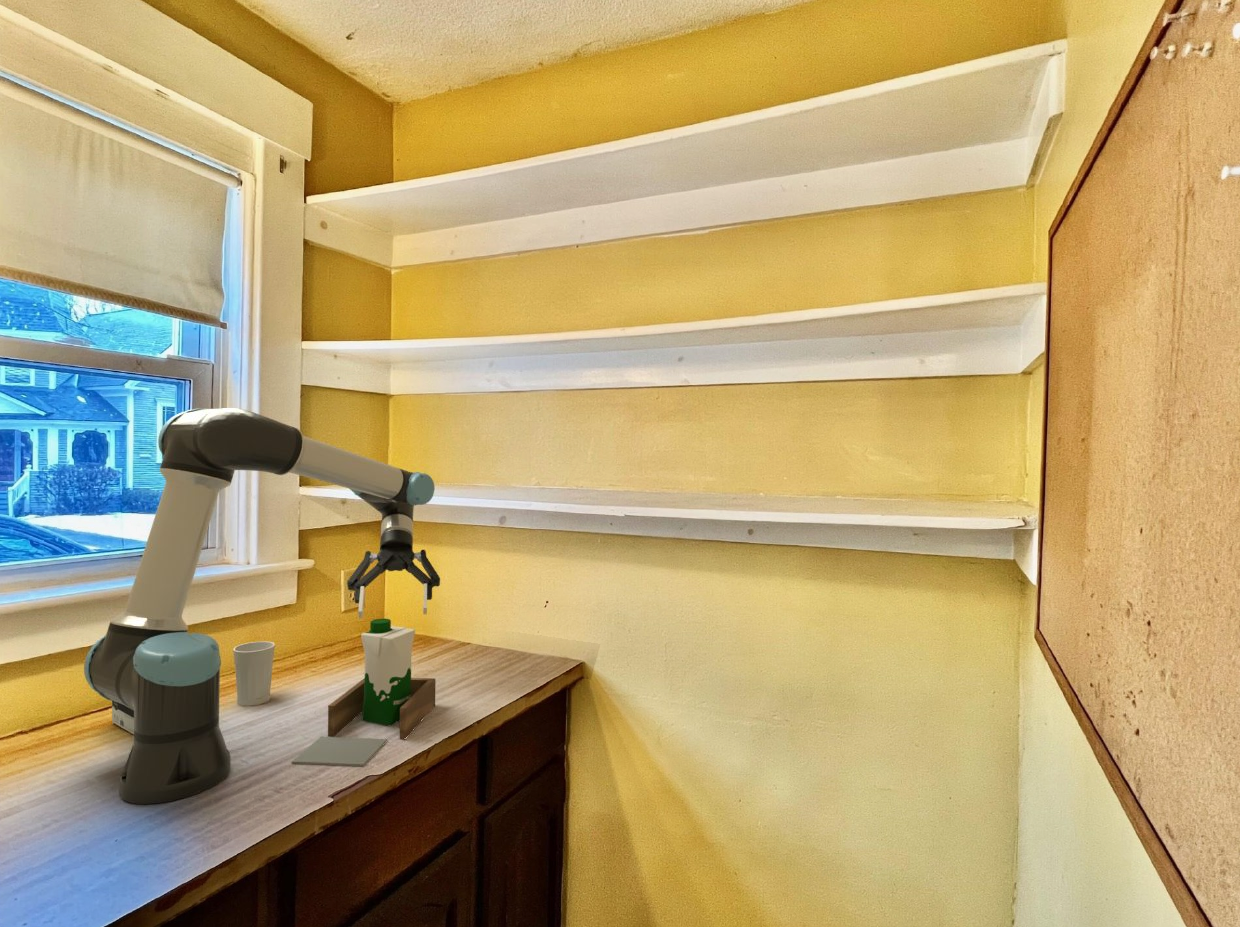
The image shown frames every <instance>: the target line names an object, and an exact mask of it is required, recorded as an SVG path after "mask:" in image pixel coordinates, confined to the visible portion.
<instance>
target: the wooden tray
mask: <svg viewBox="0 0 1240 927" xmlns="http://www.w3.org/2000/svg"><path fill="white" fill-rule="evenodd" d="M364 679H365V677H364V678H363V679H362V680H360V681H359V682H357V683H356V684H355V685H353V686H352V687H351V688H349V689H348V690H347V691H346V692H344V693H343V694H341V696H339V697H338V698H336V699H335V700H334V701H332V702H331V703H330V704H328V705H327V708H328V709H327V737H336V735H338V734H339V733H340V732H341V731H342V730H343V729H344V728H345V727H347V726H348V725H349V724H350V723H351V722H352V721H354V720H355V719H356V718H357V717H358V716H360V714H362V713H363V705H364ZM434 706H436V678H427V677H411V698H410V699H409V700H408V701H407V702H406V703H405V704H404V705H403V706H402V707H401V708H400V721H399V740H405V739H404V738H406V737H407V736H408V735H409V734H410V733H411V732H412V731H413V732H414V730H415V729H416V728H417V727H418V726H419V725H420V724H421V723H422V721H423V720H424V719H425V718H426V717H427V716H428V715H429V713H431V711H432V710H433V709H434V708H435V707H434ZM433 707H434V708H433ZM431 709H432V710H431ZM430 710H431V711H430ZM361 712H362V713H361ZM427 714H428V715H427ZM426 715H427V716H426ZM425 716H426V717H425ZM424 717H425V718H424ZM354 718H355V719H354ZM423 718H424V719H423ZM353 719H354V720H353ZM422 719H423V720H422ZM421 720H422V721H421ZM419 723H420V724H419ZM418 724H419V725H418ZM417 725H418V726H417ZM416 726H417V727H416ZM415 727H416V728H415ZM414 728H415V729H414ZM413 729H414V730H413ZM413 732H412V733H413ZM337 733H338V734H337ZM412 733H411V734H412ZM411 734H410V735H411ZM410 735H409V736H410ZM409 736H408V737H409ZM408 737H407V738H408ZM407 738H406V739H407Z"/></svg>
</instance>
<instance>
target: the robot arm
mask: <svg viewBox="0 0 1240 927" xmlns="http://www.w3.org/2000/svg"><path fill="white" fill-rule="evenodd" d="M157 441H158V442H157V443H158V448H159V451H160V453H161V455H162V457H163V458H162V461H161V463H160V467H159V472H160V473H161V475H162V476H163V478H164V479H165V485H164V487H163V491H162V493H161V497H160V500H159V504H158V507H157V509H156V511H155V515H154V519H153V522H152V525H151V529H150V530H149V534H148V537H147V541H146V544H145V547H144V549H143V554H142V557H141V559H140V562H139V565H138V568H137V571H136V574H135V578H134V581H133V585H132V587H131V591H130V592H129V593H130V594H129V598H128V600H127V602H126V605H125V610H124V611H123V612H122V613H120V614H119V615H117V616H115V617H114V618H112V619H111V620H110V622H109V624H108V628H107V631H106V634H104V636H103V637H101V638H100V639H99V640H97V641H96V642H95V643H94V644H93V645H92V646H91V648H90V649H89V651H88V653H87V655H86V656H85V660H84V666H83V674H84V678H85V680H86V682H87V684H88V685H89V687H90V688H91V689H92V690H93V691H94V692H96V693H97V694H98V695H99V696H101V697H102V698H103V699H105V700H109V701H111V702H112V701H114V702H118V703H121V704H123V705H126V706H128V707H131V708H133V709H134V734H133V744H132V746H131V749H130V752H129V753H128V757H127V760H126V761H125V765H124V768H123V770H122V773H121V775H120V777H119V797H120V798H121V800H123V801H125V802H128V803H131V804H136V805H137V804H139V805H151V804H159V803H167V802H172V801H177V800H180V799H184V798H188V797H190V796H194V795H196V794H199V793H201V792H204V791H206V790H208V789H210V788H212V787H214V786H216V785H218V784H219V783H220V782H221V781H223V780H224V779H225V778H227V776H228V775H229V773H230V772H231V760H232V759H231V753H230V752H229V750H228V747H227V745H226V742H225V738H224V736H223V733H222V730H221V728H220V688H221V687H220V686H221V685H220V684H221V683H220V680H221V679H220V678H221V676H220V675H221V664H222V659H221V658H222V657H221V654H220V647H219V646H220V645H219V643H218V641H217V640H216V639H215V638H213V637H212V636H210V635H207V634H203V633H202V632H201V633H199V632H192V633H191V632H190V633H189V632H188V629H189V626H188V625H187V623H186V621H184V619H183V613H184V610H185V606H186V603H187V600H188V597H189V593H190V590H191V586H192V584H193V583H192V582H193V579H194V576H195V574H196V570H197V566H198V563H199V560H200V556H201V553H202V550H203V548H204V542H205V540H206V538H207V533H208V529H209V527H210V524H211V520H212V516H213V513H214V510H215V506H216V503H217V500H218V496H219V493H220V492H221V491H222V490H224V489H225V488H228V487H230V486H231V484H232V481H233V477H234V474H235V471H254V472H255V471H256V472H263V473H270V474H274V475H277V476H285V475H287V474H288V473H290V474H294V475H297V476H301V477H305V478H308V479H313V480H317V481H320V482H324V483H328V484H331V485H335V486H339V487H342V488H345V489H349V490H350V491H351V492H353V494H354V495H355V496H357V497H358V498H360V499H362V500H363V501H364V502H366V503H367V504H368V505H370V506H371V507H372V508H374V509H375V510H376V511H378V512H379V513H380V514H381V523H380V524H381V525H380V526H381V527H380V541H379V552H378V553H372V552H371V551H370V550H367V551H365V553H364V556H363V559H362V561H361V562H360V564H359V565H358V566H357V567H356V569H355V570H354V571H353V573H352V574H351V576H350V577H349V578H348V580H347V581H346V584H347V590H348V591H352V590H353V591H354V597H353V598H354V599H353V600H354V603H355V604H358V611H357V612H358V618H359V619H362V618H364V607H365V606H364V605H365V596H366V595H365V594H366V589H365V588H366V587H367V586H369V585H370V584H372V582H374V581H375V579H376V578H378V576H380V575H382V574H384V572H386V571H388V572H394V571H397V572H402V571H403V570H405V571H406V572H407V573H409V574H411V575H412V576H413V577H414V578H415V579H416V580H417V581H419V582H420V584H422V585H423V605H422V609H423V610H422V612H423V613H422V614H423V615H427V614H428V613H427V612H428V601H430V600H432V599H433V588H434V587H439V586H440V585H441V578H440V576H439V574H438V572H437V571H436V570H435V567H434V566H433V564H432V563H431V562H430V560H429V558H428V557H427V550H425V549H421V550H420V552H414V551H413V548H414V547H413V545H414V538H413V537H414V510H415V508H414V506H419V505H420V506H423V505H426V504H428V503H429V502H430V501H431V500H432V499H433V497H434V494H435V489H436V488H435V482H434V480H433V478H432V476H430V475H429V474H428V473H425V472H424V473H423V472H419V471H415V472H413V471H408V470H405V469H402V468H399V467H395V466H393V465H390V464H388V463H384V462H381V461H378V460H375V459H373V458H370V457H366V456H364V455H360V454H358V453H355V452H352V451H349V450H346V449H342V448H340V447H336V446H334V445H331V444H329V443H325V442H322V441H320V440H316V439H313V438H310V437H308V436H304V434H303V433H302V431H301V430H300V429H299V428H298V427H294V426H291V425H288V424H286V423H283V422H280V421H277V420H275V419H274V418H271V417H268V416H264V415H262V414H259V413H256V412H253V411H250V410H247V409H242V408H237V407H224V408H203V407H202V408H193V409H188V410H186V411H182V412H180V413H177V414H175V415H173V416H172V417H170V418H169V419H168V420H167V421H166V422H165V423H164V424H163V426H162V427H161V430H160V432H159V435H158V439H157ZM415 559H416V560H417V561H418V562H419V563H421V566H422V568H423V569H424V571H425V572H426V573H425V572H423V570H421V569H420V568H419V567H418V566H417V565H416V564H415V562H414V560H415ZM376 560H377V562H376V564H375V566H374V567H372V568H371V569H370V570H369V571H368V569H369V567H370V566H371V564H373V563H374V562H375V561H376ZM367 571H368V572H367ZM366 572H367V573H366ZM365 573H366V574H365Z"/></svg>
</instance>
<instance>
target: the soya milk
mask: <svg viewBox="0 0 1240 927" xmlns="http://www.w3.org/2000/svg"><path fill="white" fill-rule="evenodd" d="M391 624H392V621H391V619H390V618H376V619H372V620H370V628H369V629H370V630H368V631H366V632H364V633H361V635H360V637H361V642H362V648H363V651H364V652H363V653H364V678H365V679H364V678H363V679H364V705H363V712H362V717H361V718H362V719H361V720H362V721H363V722H367V723H372V722H373V724H377V725H383V726H387V725H391V726H392V724H393V725H394V724H396V723H398V722H400V721H399V720H400V708H401V707H402V706H403V705H404V704H405V703H406V702H407V701H408V700H409V699H410V698H411V678H412V652H413V645H414V638H415V634H416V629H412V628H406V627H403V626H401V627H400V626H394V625H391Z"/></svg>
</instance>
